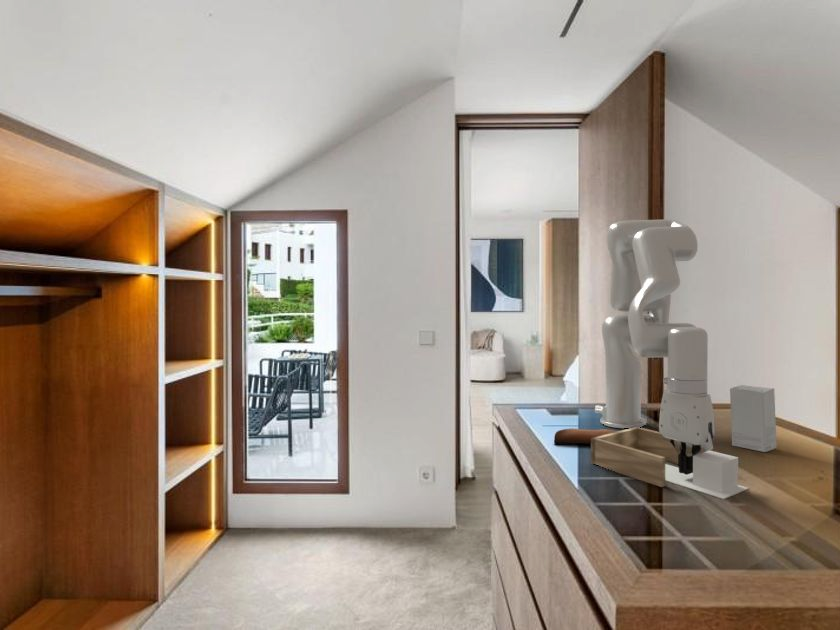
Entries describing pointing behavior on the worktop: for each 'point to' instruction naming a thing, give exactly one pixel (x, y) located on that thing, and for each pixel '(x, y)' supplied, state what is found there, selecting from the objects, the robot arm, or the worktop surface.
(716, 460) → the white cube
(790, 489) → the worktop surface
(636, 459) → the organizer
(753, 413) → the skincare box
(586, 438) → the sunglasses case
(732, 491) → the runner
